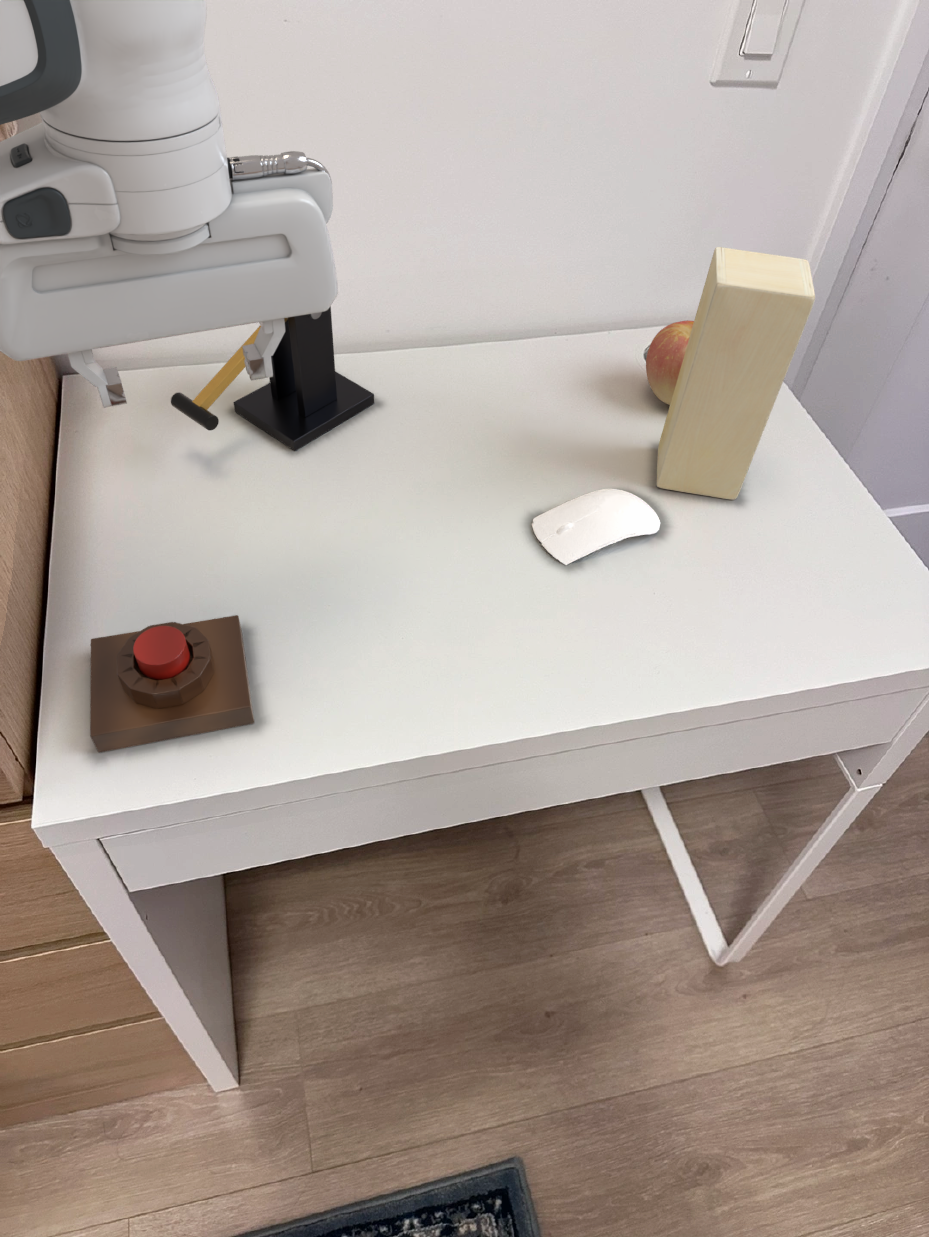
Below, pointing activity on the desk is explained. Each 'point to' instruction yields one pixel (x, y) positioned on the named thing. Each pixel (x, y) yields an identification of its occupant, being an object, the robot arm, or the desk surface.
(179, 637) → the release button
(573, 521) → the computer mouse
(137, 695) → the release housing
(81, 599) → the desk surface
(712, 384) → the tall wooden block
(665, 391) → the apple
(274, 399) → the bolt bracket
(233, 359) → the bolt lever
